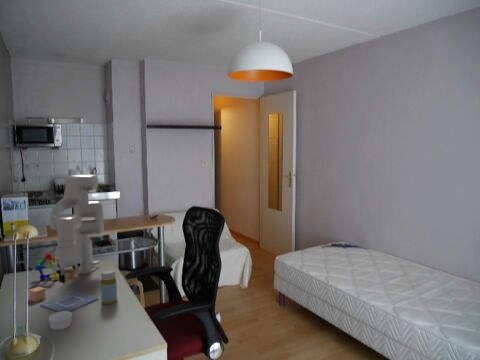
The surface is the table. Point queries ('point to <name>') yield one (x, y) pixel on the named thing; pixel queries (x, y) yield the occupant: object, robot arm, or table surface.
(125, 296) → the table surface
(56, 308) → the board
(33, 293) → the terracotta cube
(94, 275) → the table surface
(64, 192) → the robot arm
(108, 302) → the bottle
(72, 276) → the oak block
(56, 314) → the ramekin
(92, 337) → the table surface
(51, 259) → the educational toy
